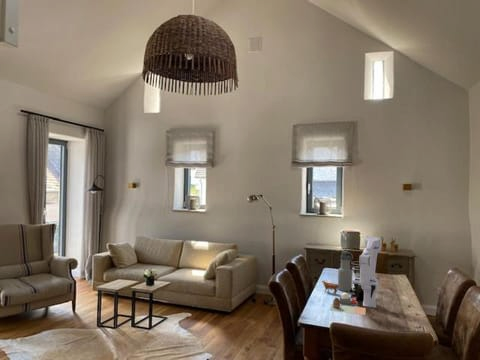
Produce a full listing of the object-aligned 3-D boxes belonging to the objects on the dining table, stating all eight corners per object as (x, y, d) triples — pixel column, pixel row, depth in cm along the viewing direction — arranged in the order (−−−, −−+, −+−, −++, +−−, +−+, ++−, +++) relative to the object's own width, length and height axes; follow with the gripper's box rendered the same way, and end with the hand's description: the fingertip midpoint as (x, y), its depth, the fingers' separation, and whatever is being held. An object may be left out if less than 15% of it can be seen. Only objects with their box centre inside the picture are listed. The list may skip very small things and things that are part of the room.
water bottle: (346, 287, 275) (347, 250, 275) (354, 291, 266) (355, 252, 266) (335, 288, 272) (336, 250, 272) (342, 292, 262) (343, 253, 262)
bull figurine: (322, 289, 267) (323, 278, 267) (339, 294, 257) (339, 282, 257) (319, 291, 264) (319, 279, 264) (336, 295, 254) (336, 283, 254)
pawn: (333, 306, 231) (333, 296, 231) (340, 307, 230) (340, 297, 230) (332, 308, 227) (333, 298, 227) (339, 309, 226) (339, 299, 226)
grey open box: (339, 300, 243) (340, 295, 243) (357, 303, 239) (357, 297, 239) (339, 304, 236) (339, 298, 236) (357, 306, 232) (357, 300, 232)
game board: (331, 303, 237) (331, 303, 237) (366, 308, 230) (366, 307, 230) (329, 311, 222) (329, 310, 222) (365, 316, 215) (365, 315, 215)
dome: (341, 298, 241) (341, 291, 241) (349, 299, 240) (349, 292, 240) (341, 300, 237) (341, 293, 237) (348, 301, 235) (349, 294, 235)
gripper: (352, 274, 220) (351, 297, 220) (377, 277, 216) (377, 300, 216) (352, 272, 227) (352, 293, 227) (377, 274, 222) (377, 296, 222)
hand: (364, 296), depth 222 cm, fingers open, 7 cm apart
